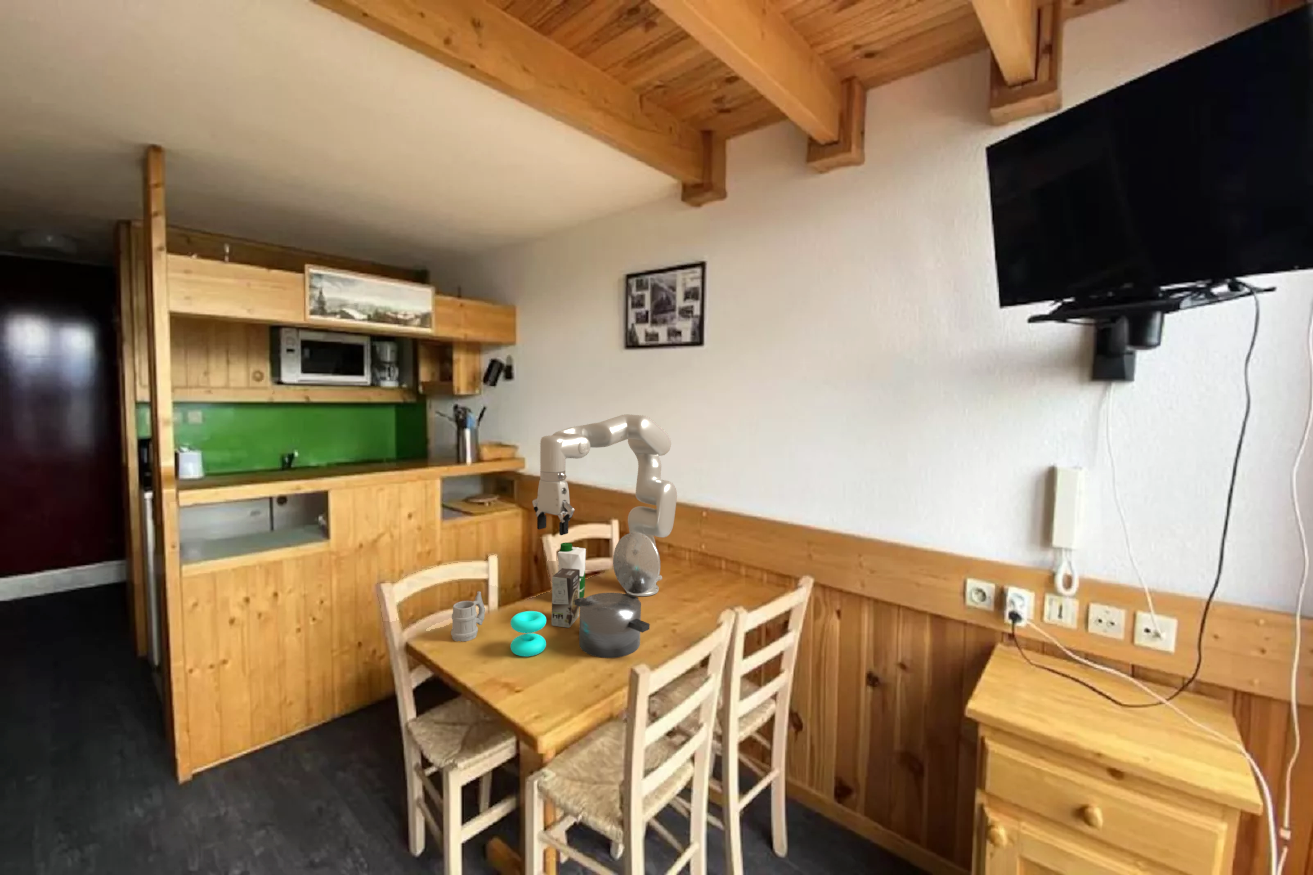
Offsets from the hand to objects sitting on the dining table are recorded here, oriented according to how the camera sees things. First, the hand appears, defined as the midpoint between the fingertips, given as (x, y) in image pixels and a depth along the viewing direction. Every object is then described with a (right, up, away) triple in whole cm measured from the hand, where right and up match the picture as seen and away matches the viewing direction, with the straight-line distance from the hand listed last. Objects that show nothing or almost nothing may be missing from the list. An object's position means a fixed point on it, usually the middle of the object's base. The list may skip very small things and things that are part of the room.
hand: (552, 531), depth 172 cm
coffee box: (+3, -31, +9) cm, 32 cm away
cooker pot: (+18, -32, -5) cm, 37 cm away
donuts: (-5, -33, -11) cm, 35 cm away
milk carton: (+2, -29, +26) cm, 39 cm away
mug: (-25, -31, -2) cm, 40 cm away
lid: (+25, -10, 0) cm, 27 cm away
